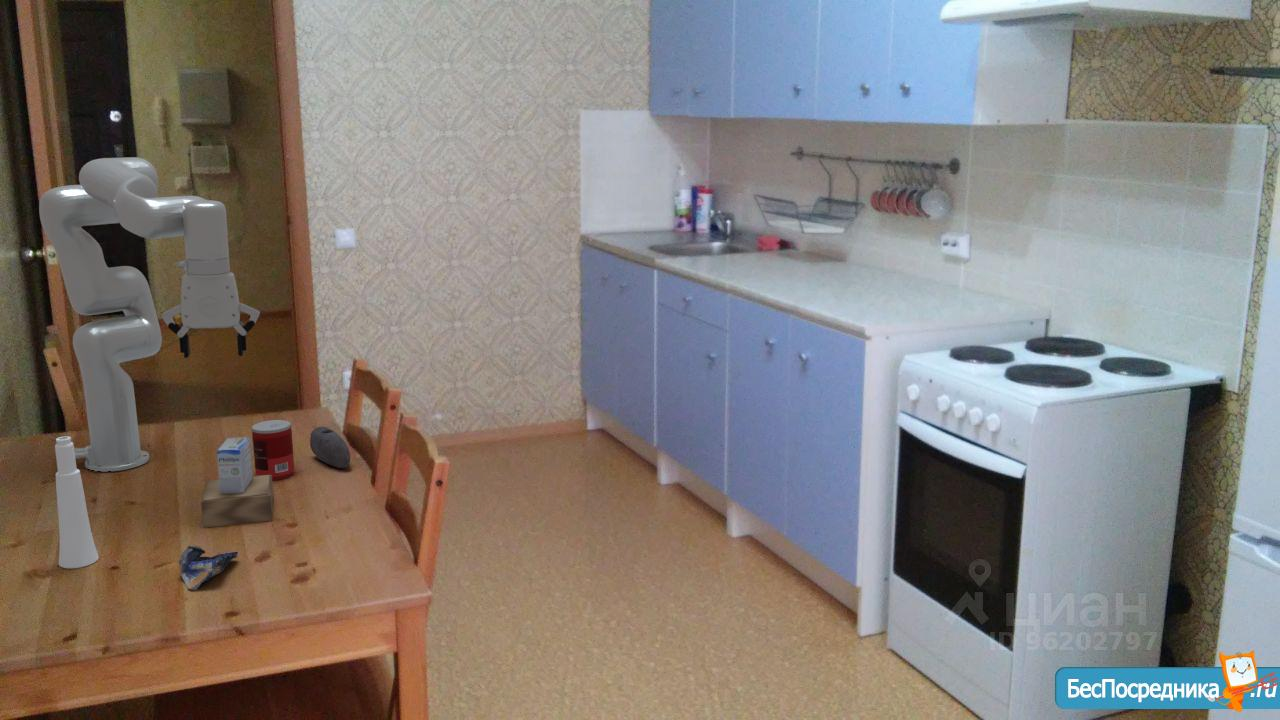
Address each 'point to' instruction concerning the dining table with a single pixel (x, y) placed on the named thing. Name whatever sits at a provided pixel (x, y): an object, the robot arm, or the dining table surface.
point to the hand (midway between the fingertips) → (214, 355)
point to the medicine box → (234, 465)
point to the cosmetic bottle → (72, 510)
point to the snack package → (202, 564)
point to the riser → (238, 503)
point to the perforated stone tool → (329, 447)
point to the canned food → (273, 449)
